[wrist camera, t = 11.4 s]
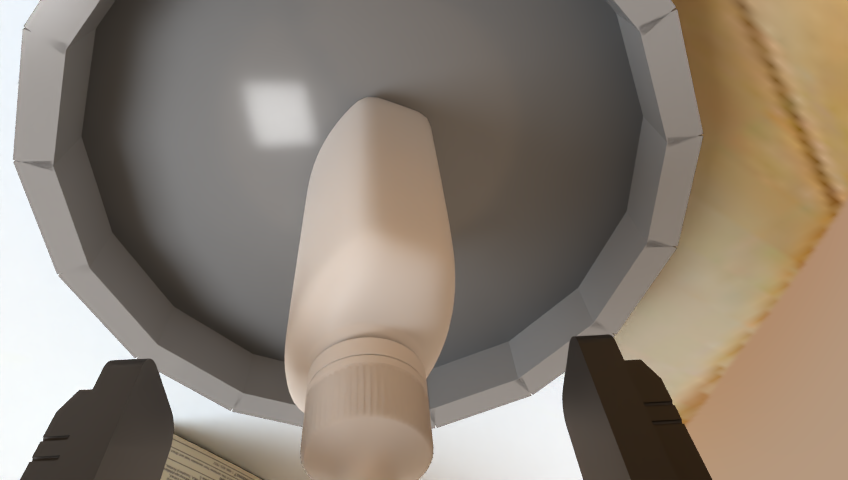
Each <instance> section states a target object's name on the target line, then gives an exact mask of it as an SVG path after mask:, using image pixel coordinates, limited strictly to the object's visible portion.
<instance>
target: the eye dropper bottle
mask: <svg viewBox="0 0 848 480" xmlns="http://www.w3.org/2000/svg"><path fill="white" fill-rule="evenodd" d="M454 295H455V261H454V251H453V245H452V238H451V232H450V225H449V220H448V214H447V209H446V204H445V198H444V193H443V187H442V182H441V177H440V172H439V166H438V161H437V156H436V151H435V146H434V141H433V136H432V131H431V126H430V124H429V122H428V119H427V118H426V117H425V116H424V115H422V114H421V113H419V112H417V111H415V110H412V109H410V108H407V107H404V106H401V105H398V104H395V103H393V102H390V101H387V100H384V99H380V98H377V97H365V98H363V99H361V100H359V101H357V102H356V103H355V104H354V105H353V106H352V107H350V109H349V110H348V111H347V112H346V113H345V114H344V115H343V116H342V117H341V119H340V120H339V121H338V122H337V123H336V125H335V126H334V128H333V129H332V130H331V132H330V133H329V135H328V137H327V138H326V140H325V142H324V143H323V145H322V147H321V149H320V151H319V153H318V156H317V158H316V161H315V163H314V166H313V169H312V173H311V176H310V180H309V185H308V190H307V196H306V203H305V210H304V216H303V223H302V230H301V236H300V243H299V250H298V257H297V263H296V270H295V277H294V284H293V291H292V298H291V304H290V311H289V319H288V326H287V333H286V342H285V356H284V358H285V373H286V380H287V385H288V389H289V392H290V395H291V397H292V400H293V402H294V403H295V404H296V406H297V407H298V408H299V409H300V410H301V411H302V412H304V421H303V431H302V441H301V451H300V454H301V456H300V458H301V463H302V464H303V468H304V469H305V472H306V473H307V474H308V476H309V477H310V478H311V479H312V480H418V479H419V478H420V477H421V476H422V475H423V474H424V473H425V472H426V471H427V469H428V468H429V465H430V464H431V460H432V459H433V454H434V453H433V439H432V430H431V420H430V410H429V401H428V391H427V381H426V378H427V377H428V375H429V374H430V372H431V370H432V369H433V367H434V365H435V363H436V361H437V359H438V357H439V355H440V353H441V350H442V348H443V345H444V343H445V340H446V337H447V333H448V330H449V326H450V321H451V317H452V312H453V305H454Z"/></svg>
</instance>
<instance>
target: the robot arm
mask: <svg viewBox="0 0 848 480" xmlns="http://www.w3.org/2000/svg"><path fill="white" fill-rule="evenodd" d="M562 401H563V412H564V418H565V422H566V426H567V429H568V432H569V435H570V439H571V442H572V445H573V448H574V451H575V455H576V458H577V461H578V464H579V467H580V471H581V474H582V477H583V480H712V478H711V476H710V474H709V472H708V470H707V468H706V466H705V464H704V463H703V460H702V458H701V457H700V454H699V453H698V451H697V449H696V447H695V445H694V443H693V441H692V439H691V437H690V435H689V433H688V431H687V429H686V427H685V425H684V424H682V419H681V417H680V415H679V413H678V411H677V409H676V407H675V405H673V404H672V399H671V397H670V395H669V393H668V391H667V389H666V387H665V385H664V383H663V381H662V379H661V378H660V377H659V376H658V375H657V374H656V373H655V372H653V371H652V370H651V369H650V368H649V367H648V366H647V365H646V364H645V363H644V362H643V361H642V360H625V361H624V359H623V357H622V355H621V352H620V350H619V348H618V346H617V344H616V341H615V339H614V338H613V336H612V335H610V334H606V335H588V336H573V337H571V339H570V342H569V349H568V356H567V363H566V371H565V378H564V385H563V395H562ZM173 432H174V422H173V415H172V411H171V408H170V405H169V402H168V399H167V396H166V393H165V390H164V387H163V384H162V381H161V378H160V375H159V372H158V369H157V366H156V364H155V362H154V361H153V360H152V359H130V360H112V361H109V362H107V363H106V365H105V366H104V368H103V370H102V372H101V374H100V376H99V378H98V380H97V382H96V384H95V386H94V388H93V389H92V390H79V391H78V392H77V393H76V394H75V395H74V396H73V397H72V398H71V399H70V400H69V401H67V402H66V403H65V404H64V405H63V406H62V407H61V408H60V409H59V410H58V411H57V412H56V414H55V416H54V418H53V419H52V421H51V423H50V425H49V427H48V429H47V431H46V432H45V434H44V436H43V442H40V444H39V445H38V447H37V449H36V451H35V453H34V455H33V457H32V458H33V460H32V462H29V464H28V466H27V468H26V470H25V472H24V473H23V475H22V477H21V479H20V480H160V479H161V476H162V473H163V470H164V467H165V464H166V461H167V458H168V455H169V452H170V449H171V445H172V441H173Z"/></svg>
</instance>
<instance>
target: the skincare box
mask: <svg viewBox="0 0 848 480" xmlns="http://www.w3.org/2000/svg"><path fill="white" fill-rule="evenodd" d="M160 480H262V479H260V478H258V477H256V476H254V475H253V474H251V473H249V472H247V471H245V470H243V469H241V468H240V467H238V466H236V465H234V464H232V463H230V462H228V461H226V460H224V459H222V458H220V457H218V456H216V455H214V454H212V453H210V452H208V451H207V450H205V449H203V448H201V447H199V446H197V445H195V444H193V443H191V442H189V441H187V440H185V439H183V438H181V437H179V436H177V435H175V434H173V441H172V445H171V449H170V452H169V455H168V458H167V461H166V464H165V467H164V470H163V473H162V476H161V479H160Z"/></svg>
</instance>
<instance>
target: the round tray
mask: <svg viewBox="0 0 848 480" xmlns="http://www.w3.org/2000/svg"><path fill="white" fill-rule="evenodd" d="M675 7H676V6H675V5H674V4H673V2H672V1H671V0H40V2H39V3H38V5H37V6H36V8H35V10H34V11H33V13H32V14H31V16H30V17H29V19H28V20H27V22H26V24H25V25H24V27H25V28H24V29H23V34H22V47H21V60H20V74H19V87H18V100H17V114H16V127H15V140H14V154H13V160H15V161H14V165H15V167H16V170H17V172H18V175H19V178H20V180H21V183H22V185H23V188H24V190H25V193H26V196H27V198H28V201H29V203H30V206H31V208H32V211H33V213H34V216H35V219H36V221H37V224H38V226H39V229H40V231H41V234H42V237H43V239H44V242H45V244H46V247H47V249H48V252H49V254H50V257H51V260H52V262H53V265H54V267H55V270H56V272H57V274H59V277H60V278H61V279H62V280H63V281H64V282H65V284H66V285H67V286H68V287H69V288H70V289H71V290H72V291H73V292H74V293H75V294H76V295H77V296H78V297H79V299H80V300H81V301H82V302H83V303H84V304H85V305H86V306H87V307H88V308H89V309H90V310H91V311H92V313H93V314H94V315H95V316H96V317H97V318H98V319H99V320H100V321H101V322H102V323H103V324H104V325H105V327H106V328H107V329H108V330H109V331H110V332H111V333H112V334H113V335H114V336H115V337H116V338H117V339H118V340H119V342H120V343H121V344H122V345H123V346H124V347H125V348H126V349H127V350H128V351H129V352H130V353H131V354H132V356H133V357H134V358H136V357H138V358H137V359H152V360H153V361H154V362H155V364H156V366H157V369H158V371H159V372H160V373H162V374H164V375H166V376H168V377H170V378H171V379H173V380H175V381H177V382H179V383H181V384H182V385H184V386H186V387H188V388H190V389H192V390H193V391H195V392H197V393H199V394H201V395H202V396H204V397H206V398H208V399H210V400H212V401H213V402H215V403H217V404H219V405H221V406H223V407H224V408H226V409H228V410H230V411H231V410H232V409H233V411H232V412H237V413H241V414H246V415H251V416H255V417H260V418H264V419H269V420H273V421H278V422H283V423H287V424H292V425H296V426H301V427H303V421H304V412H302V411H301V410H300V409H299V408H298V407H297V406H296V404H295V403H294V402H293V400H292V397H291V395H290V392H289V389H288V385H287V380H286V373H285V358H284V356H285V342H286V333H287V326H288V319H289V311H290V304H291V298H292V291H293V284H294V277H295V270H296V263H297V257H298V250H299V243H300V236H301V230H302V223H303V216H304V210H305V203H306V196H307V190H308V185H309V180H310V176H311V173H312V169H313V166H314V163H315V161H316V158H317V156H318V153H319V151H320V149H321V147H322V145H323V143H324V142H325V140H326V138H327V137H328V135H329V133H330V132H331V130H332V129H333V128H334V126H335V125H336V123H337V122H338V121H339V120H340V119H341V117H342V116H343V115H344V114H345V113H346V112H347V111H348V110H349V109H350V107H352V106H353V105H354V104H355V103H356V102H357V101H359V100H361V99H363V98H365V97H377V98H380V99H384V100H387V101H390V102H393V103H395V104H398V105H401V106H404V107H407V108H410V109H412V110H415V111H417V112H419V113H421V114H422V115H424V116H425V117H426V118H427V119H428V122H429V124H430V126H431V131H432V136H433V141H434V146H435V151H436V156H437V161H438V166H439V172H440V177H441V182H442V187H443V193H444V198H445V204H446V209H447V214H448V220H449V225H450V232H451V238H452V245H453V251H454V261H455V295H454V305H453V312H452V317H451V321H450V326H449V330H448V333H447V337H446V340H445V343H444V345H443V348H442V350H441V353H440V355H439V357H438V359H437V361H436V363H435V365H434V367H433V369H432V370H431V372H430V374H429V375H428V377H427V378H426V381H427V391H428V401H429V410H430V420H431V428H435V425H436V427H437V428H438V427H441V426H444V425H447V424H450V423H453V422H456V421H458V420H461V419H464V418H467V417H470V416H473V415H476V414H479V413H482V412H485V411H488V410H491V409H494V408H497V407H500V406H502V405H505V404H508V403H511V402H514V401H517V400H520V399H523V398H526V397H529V396H531V394H535V393H536V392H538V391H539V390H540V389H542V388H543V387H545V386H546V385H547V384H549V383H550V382H551V381H553V380H554V379H556V378H557V377H558V376H560V375H561V374H563V373H564V372H565V371H566V363H567V356H568V349H569V342H570V339H571V337H573V336H588V335H606V334H610V335H612V336H613V337H614V336H615V335H614V334H617V333H618V331H619V330H620V329H621V327H622V326H623V324H624V323H625V321H626V320H627V319H628V317H629V316H630V314H631V313H632V311H633V310H634V309H635V307H636V306H637V304H638V303H639V301H640V300H641V299H642V297H643V296H644V294H645V293H646V291H647V290H648V289H649V287H650V286H651V284H652V283H653V282H654V280H655V279H656V277H657V276H658V274H659V273H660V272H661V270H662V269H663V267H664V266H665V264H666V263H667V262H668V260H669V259H670V257H671V256H672V254H673V253H674V252H675V250H676V249H677V248H676V246H678V243H679V239H680V234H681V230H682V226H683V221H684V217H685V213H686V208H687V204H688V200H689V195H690V191H691V187H692V182H693V178H694V174H695V170H696V165H697V161H698V157H699V152H700V148H701V144H702V139H703V135H702V134H703V130H702V125H701V120H700V116H699V111H698V106H697V101H696V97H695V92H694V87H693V82H692V77H691V73H690V68H689V63H688V58H687V54H686V49H685V44H684V39H683V35H682V30H681V25H680V20H679V15H678V11H677V9H676V8H675Z"/></svg>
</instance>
